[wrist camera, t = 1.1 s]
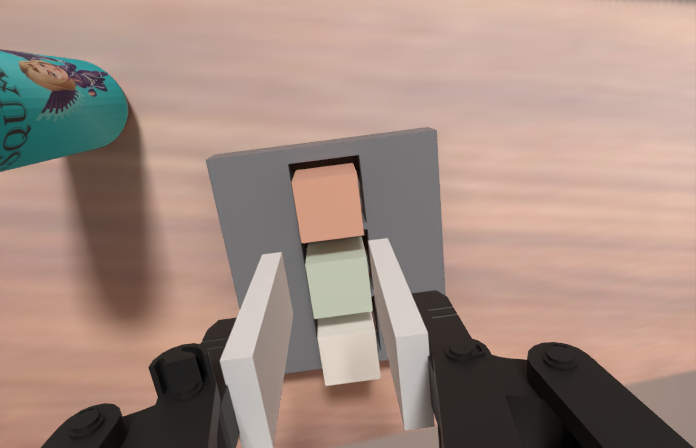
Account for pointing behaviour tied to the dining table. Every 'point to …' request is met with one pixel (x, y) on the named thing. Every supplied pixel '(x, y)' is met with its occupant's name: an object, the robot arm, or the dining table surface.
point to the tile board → (379, 217)
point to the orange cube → (328, 203)
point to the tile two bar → (338, 277)
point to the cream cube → (348, 348)
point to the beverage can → (55, 108)
